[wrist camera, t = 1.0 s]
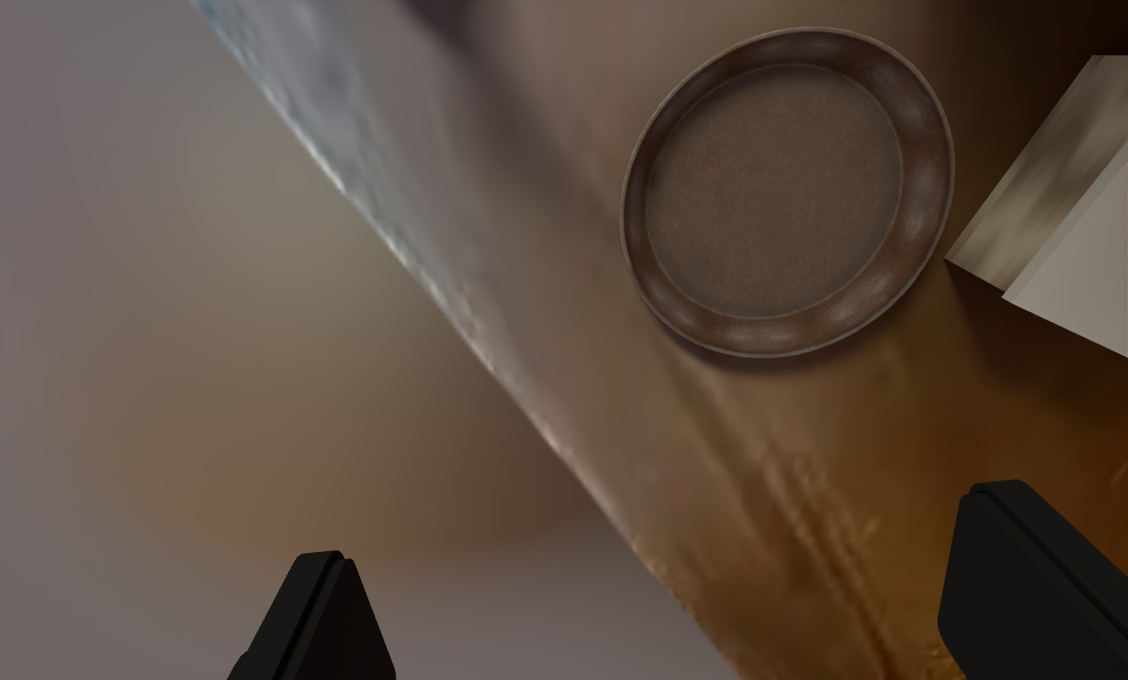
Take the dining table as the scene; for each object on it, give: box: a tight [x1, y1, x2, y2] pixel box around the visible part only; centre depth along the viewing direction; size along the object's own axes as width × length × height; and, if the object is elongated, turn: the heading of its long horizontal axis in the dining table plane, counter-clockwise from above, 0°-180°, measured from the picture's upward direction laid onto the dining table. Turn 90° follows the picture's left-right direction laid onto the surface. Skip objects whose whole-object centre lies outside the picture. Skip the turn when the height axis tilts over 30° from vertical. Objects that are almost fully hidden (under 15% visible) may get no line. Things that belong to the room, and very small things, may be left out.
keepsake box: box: [944, 55, 1128, 292], centre depth 32 cm, size 12×10×6 cm
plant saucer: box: [619, 26, 955, 358], centre depth 34 cm, size 18×18×3 cm
